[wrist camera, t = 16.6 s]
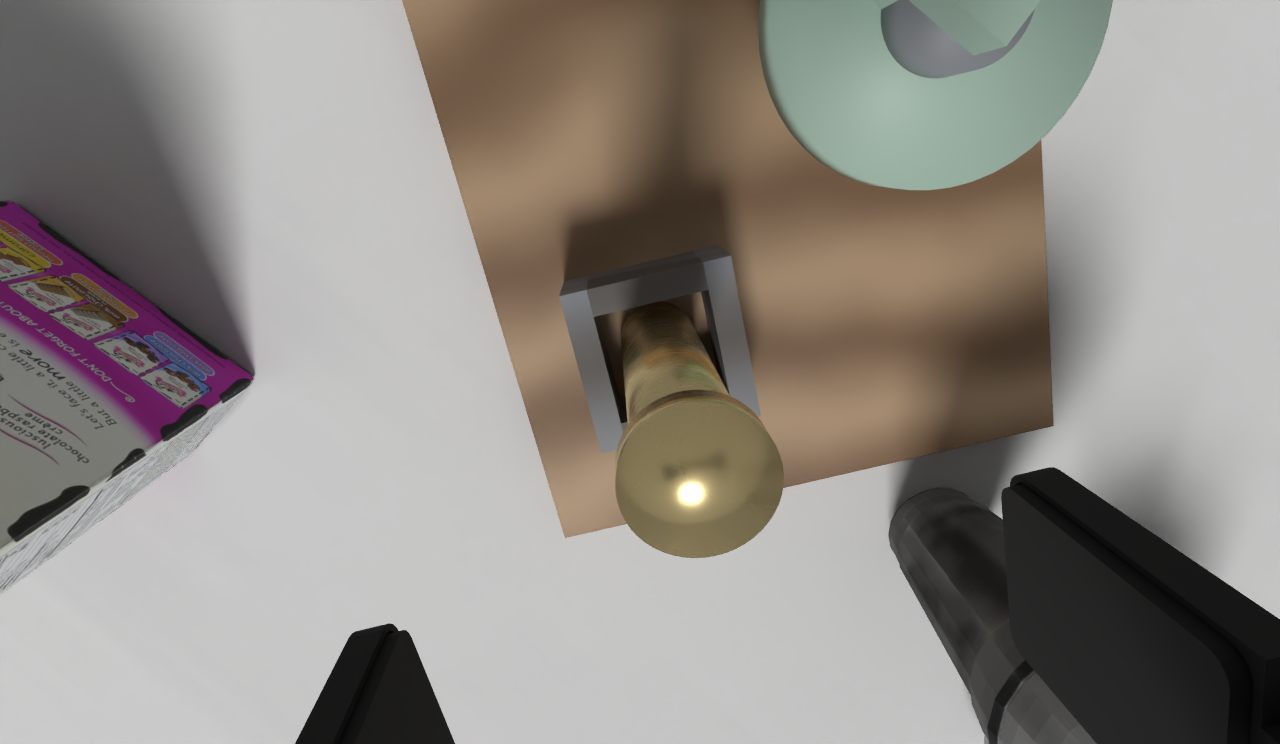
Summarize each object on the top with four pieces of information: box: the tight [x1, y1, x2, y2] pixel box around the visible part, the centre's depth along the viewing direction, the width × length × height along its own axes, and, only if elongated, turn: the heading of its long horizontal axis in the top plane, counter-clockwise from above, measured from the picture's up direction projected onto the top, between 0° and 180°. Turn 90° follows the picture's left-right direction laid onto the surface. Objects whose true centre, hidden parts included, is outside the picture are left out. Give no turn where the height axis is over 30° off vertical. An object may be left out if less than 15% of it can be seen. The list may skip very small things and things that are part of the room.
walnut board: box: [402, 0, 1053, 538], centre depth 25 cm, size 24×22×5 cm
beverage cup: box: [889, 488, 1097, 744], centre depth 23 cm, size 7×7×20 cm
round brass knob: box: [615, 301, 784, 558], centre depth 21 cm, size 4×4×13 cm
